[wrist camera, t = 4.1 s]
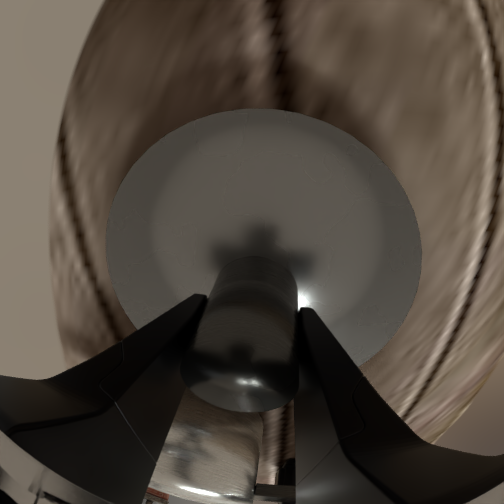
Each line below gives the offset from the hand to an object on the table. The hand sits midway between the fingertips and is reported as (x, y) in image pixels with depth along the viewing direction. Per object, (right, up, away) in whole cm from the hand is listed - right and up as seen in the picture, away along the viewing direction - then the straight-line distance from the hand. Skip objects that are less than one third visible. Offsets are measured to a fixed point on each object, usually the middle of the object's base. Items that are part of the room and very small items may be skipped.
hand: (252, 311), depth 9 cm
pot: (-5, -11, +10) cm, 16 cm away
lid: (0, +1, +2) cm, 2 cm away
